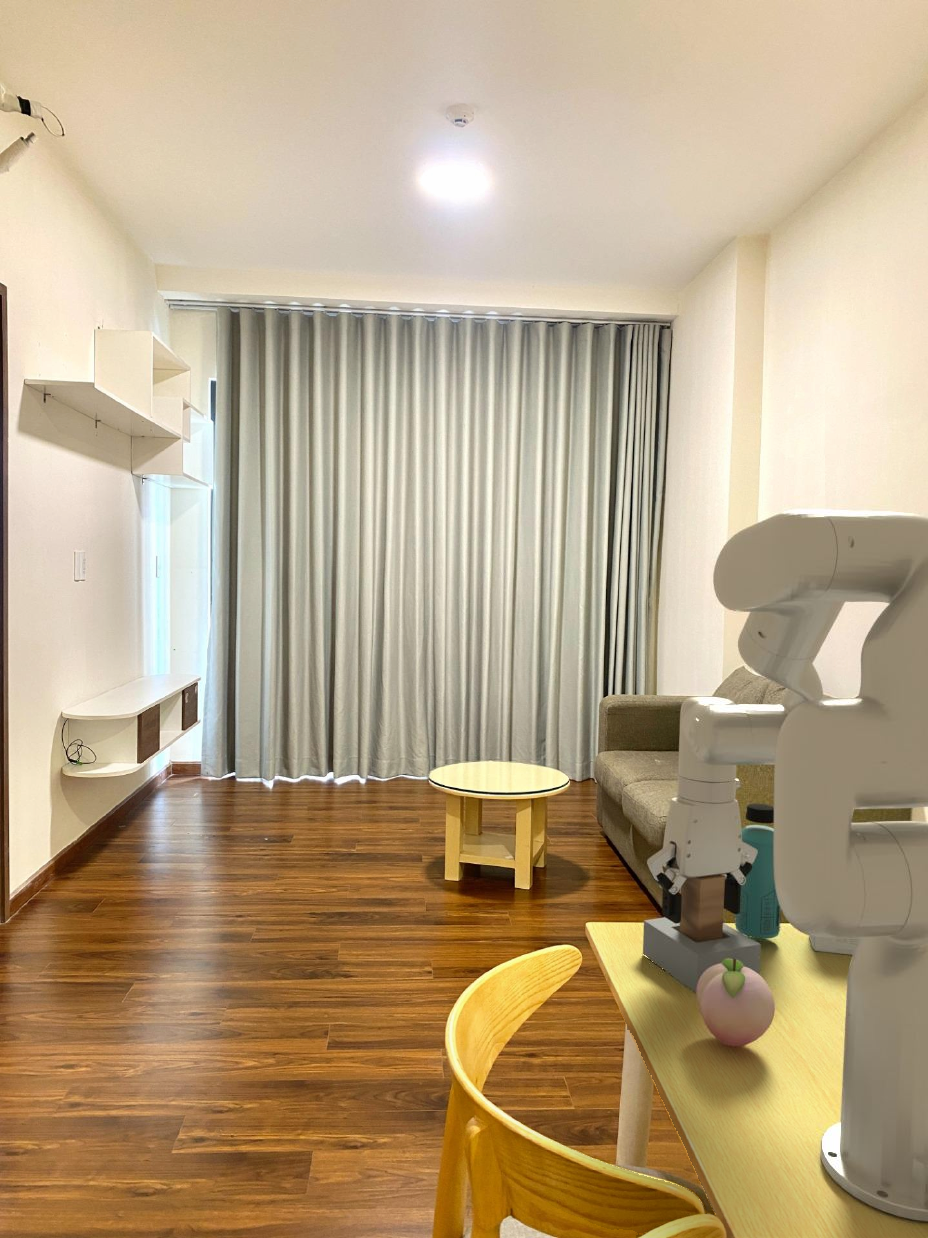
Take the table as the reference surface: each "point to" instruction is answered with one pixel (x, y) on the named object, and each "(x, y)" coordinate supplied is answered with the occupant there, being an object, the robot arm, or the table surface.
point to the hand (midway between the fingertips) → (701, 915)
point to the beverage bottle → (759, 879)
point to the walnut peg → (702, 908)
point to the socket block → (695, 950)
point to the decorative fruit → (735, 1003)
